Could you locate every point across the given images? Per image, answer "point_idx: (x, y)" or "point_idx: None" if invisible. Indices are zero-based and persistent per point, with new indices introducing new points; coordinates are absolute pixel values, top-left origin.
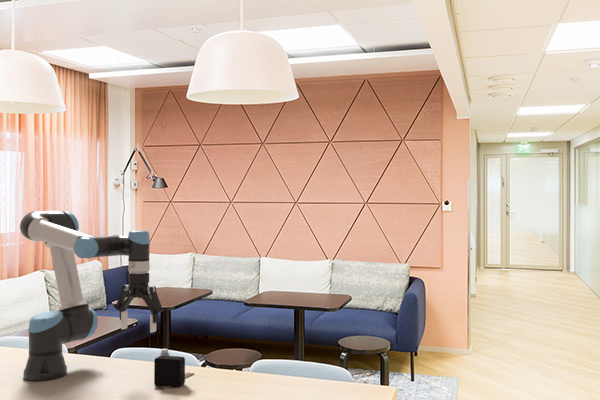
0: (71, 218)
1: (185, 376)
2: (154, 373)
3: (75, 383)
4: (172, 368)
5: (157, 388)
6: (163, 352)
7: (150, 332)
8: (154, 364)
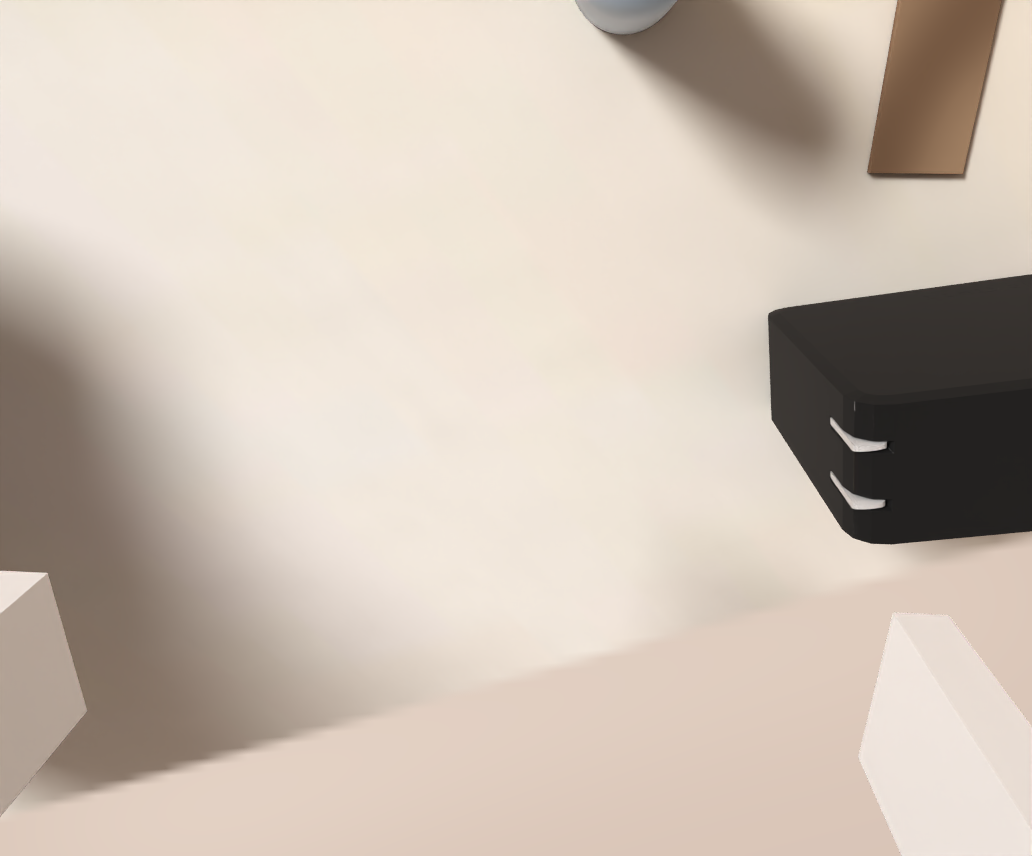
0: None
1: (968, 28)
2: (799, 459)
3: (112, 562)
4: None
5: None
6: None
7: (872, 759)
8: (828, 505)
